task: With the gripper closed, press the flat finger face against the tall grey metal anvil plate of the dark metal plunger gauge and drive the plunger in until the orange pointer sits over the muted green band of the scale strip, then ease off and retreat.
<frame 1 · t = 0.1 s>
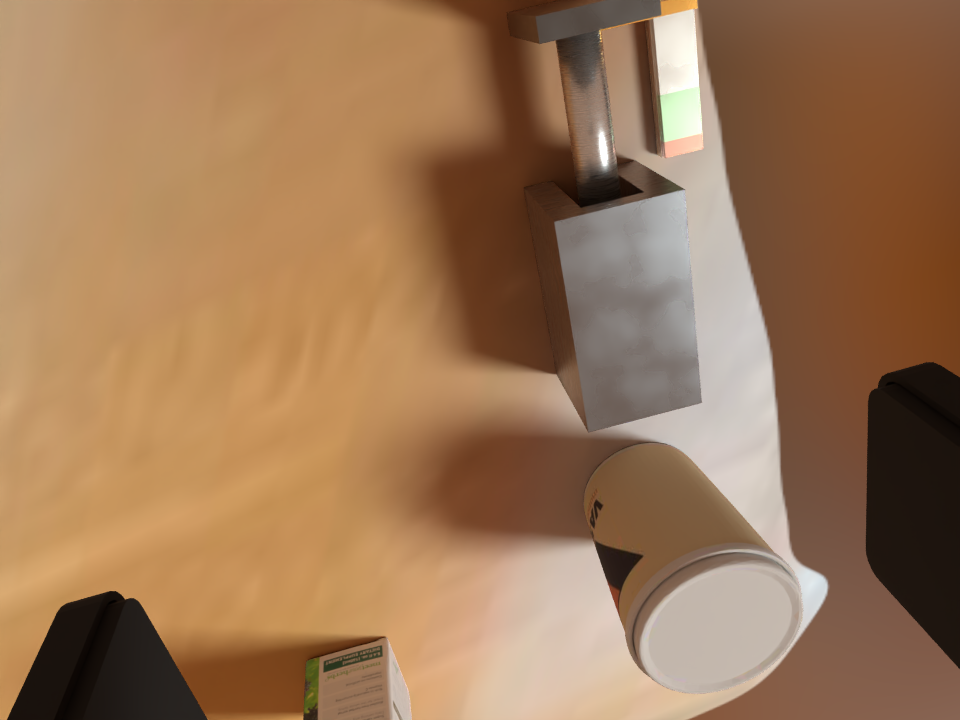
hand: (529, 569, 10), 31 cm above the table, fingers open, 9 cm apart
plunger: (628, 123, 35), point 4 cm above the table, slide at 0.0 cm
coffee cup: (639, 491, 49), on the table
syrup box: (359, 673, 52), on the table
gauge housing: (582, 196, 40), on the table
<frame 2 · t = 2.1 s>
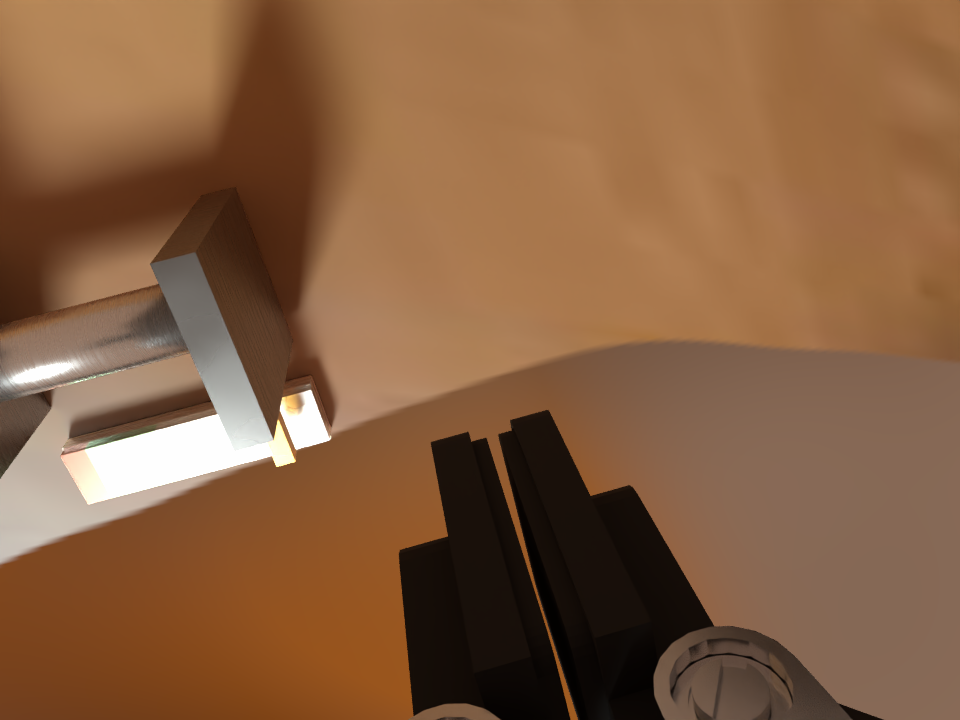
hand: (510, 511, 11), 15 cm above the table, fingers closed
plunger: (78, 409, 21), point 4 cm above the table, slide at 0.0 cm
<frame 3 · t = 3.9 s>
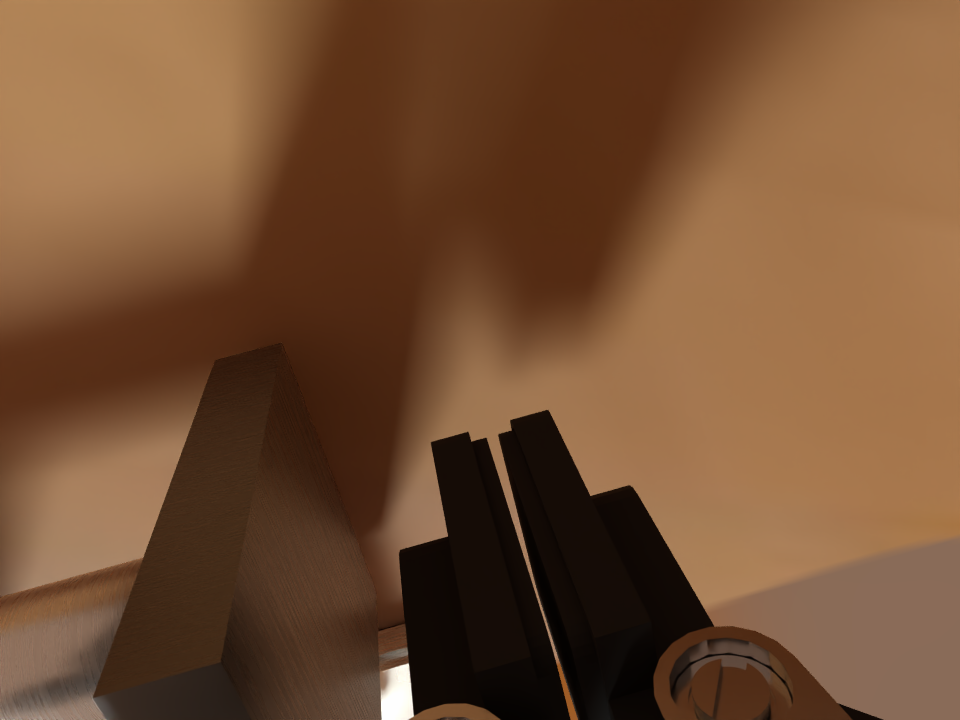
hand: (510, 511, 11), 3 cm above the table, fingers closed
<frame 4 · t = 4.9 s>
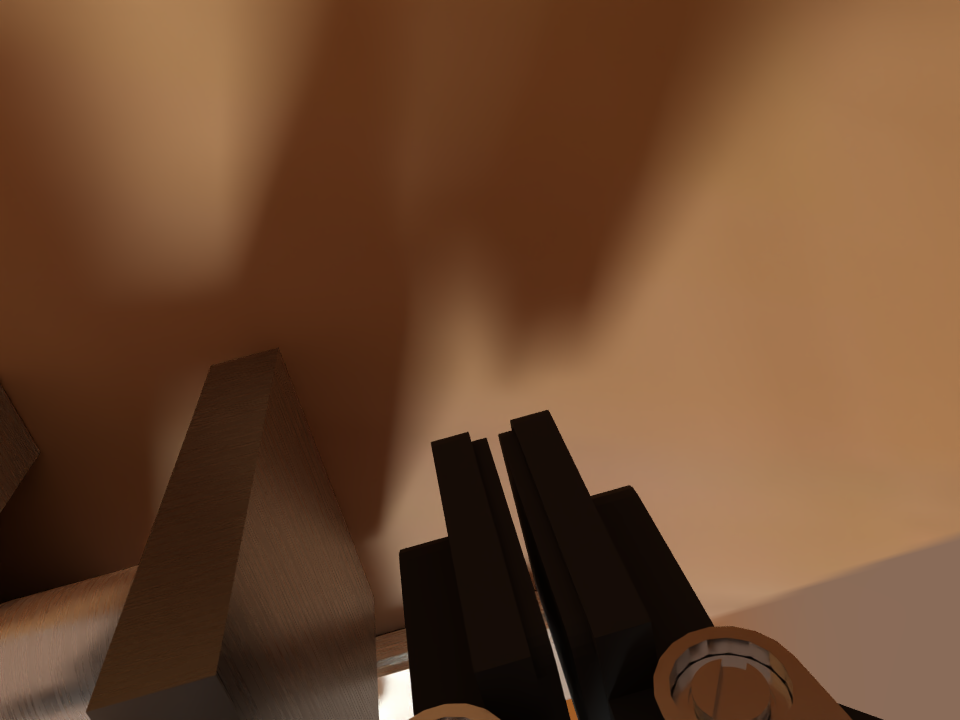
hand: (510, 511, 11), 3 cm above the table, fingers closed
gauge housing: (11, 544, 13), on the table
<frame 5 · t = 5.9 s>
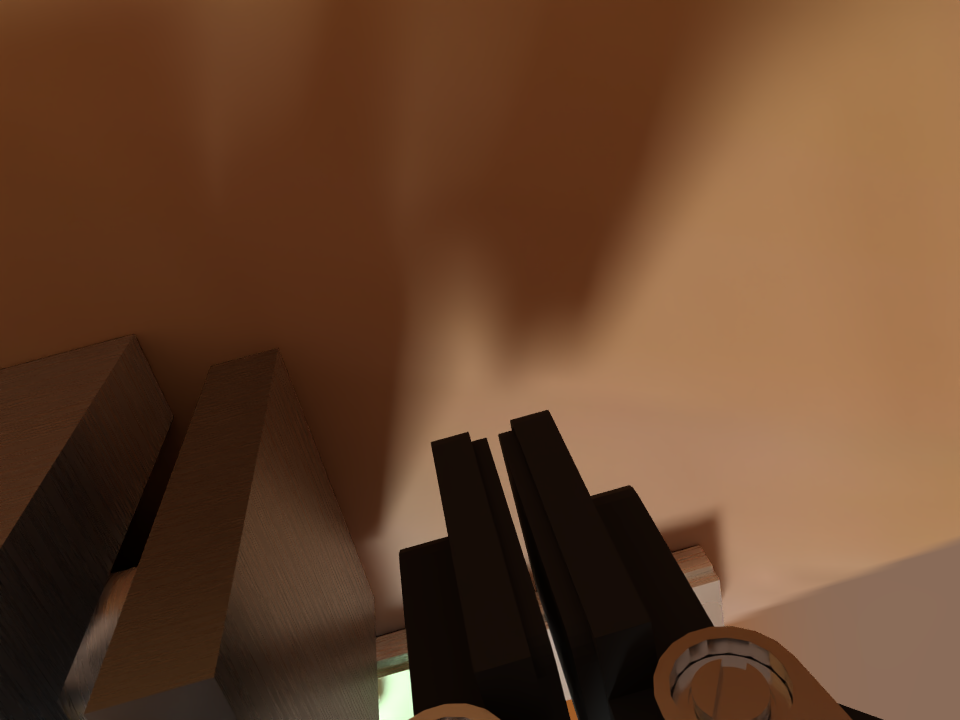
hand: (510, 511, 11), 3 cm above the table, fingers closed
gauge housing: (139, 510, 13), on the table
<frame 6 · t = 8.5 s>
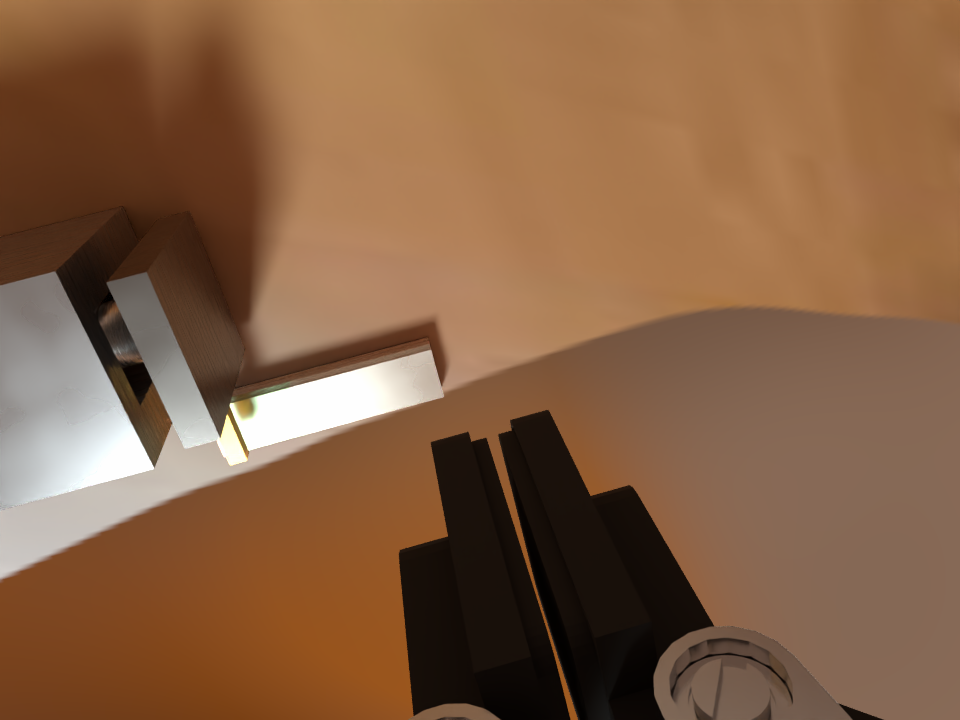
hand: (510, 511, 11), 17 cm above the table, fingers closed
plunger: (44, 413, 23), point 4 cm above the table, slide at 6.2 cm
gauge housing: (125, 300, 26), on the table
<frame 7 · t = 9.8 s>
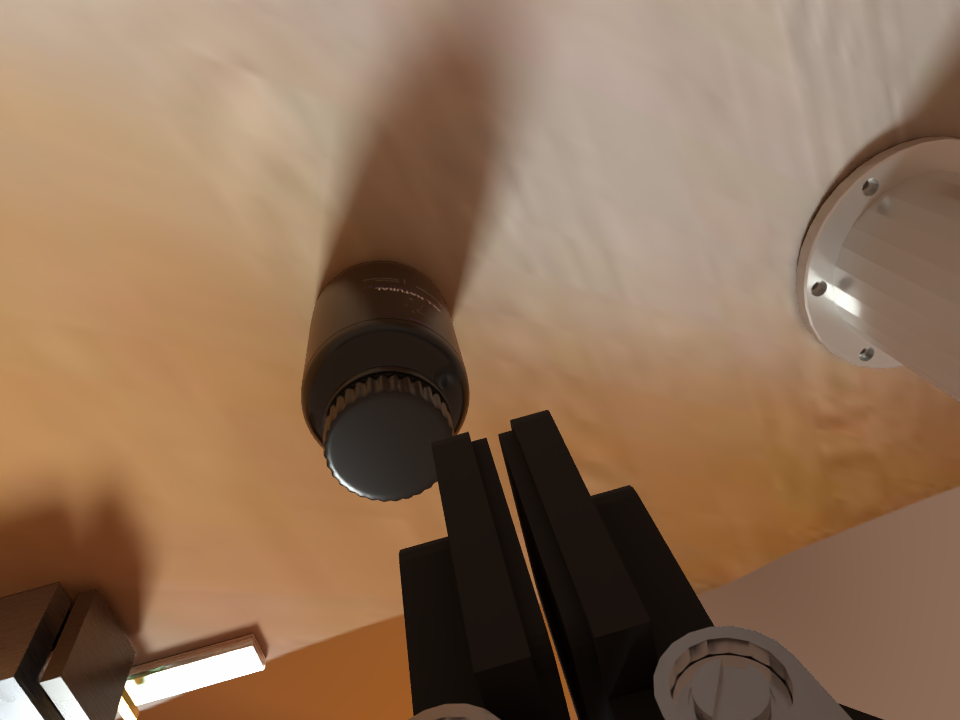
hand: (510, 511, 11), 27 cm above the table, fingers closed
supplement bottle: (379, 320, 38), on the table
plunger: (12, 713, 40), point 4 cm above the table, slide at 6.2 cm
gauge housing: (62, 627, 43), on the table
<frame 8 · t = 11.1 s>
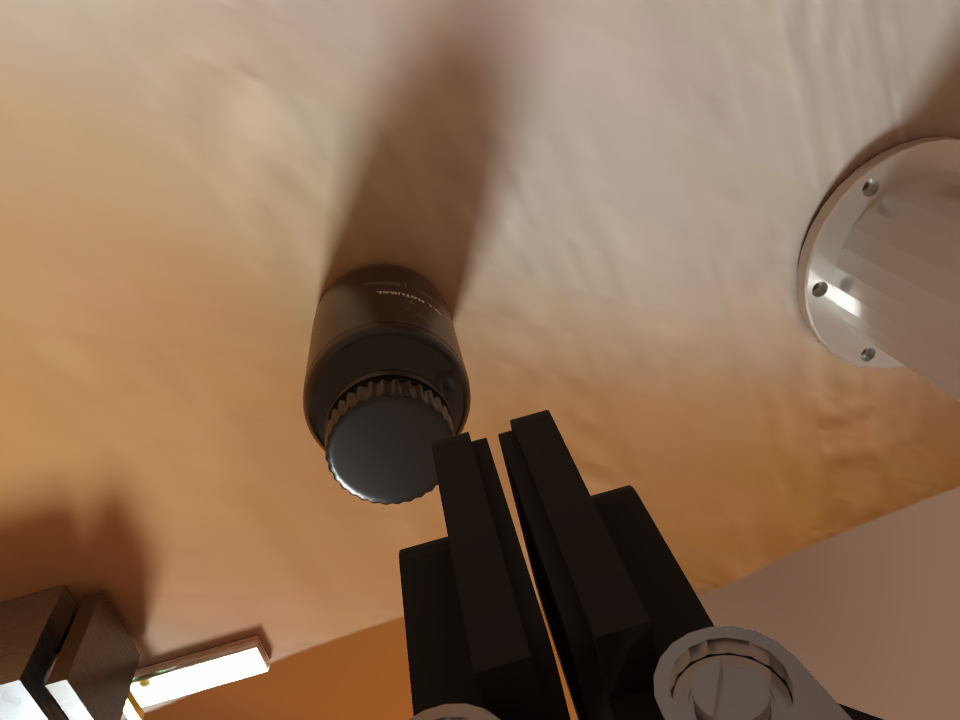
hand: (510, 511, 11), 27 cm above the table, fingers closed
supplement bottle: (381, 323, 39), on the table
plunger: (18, 716, 41), point 4 cm above the table, slide at 6.2 cm
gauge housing: (67, 629, 43), on the table
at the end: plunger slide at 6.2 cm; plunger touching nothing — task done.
